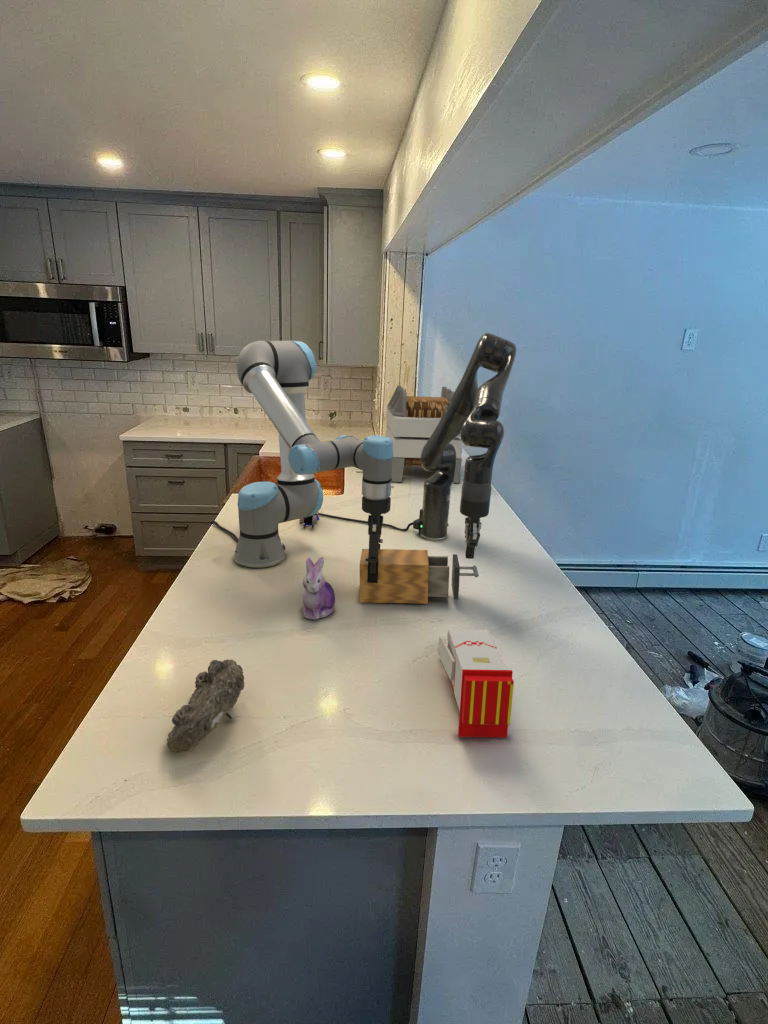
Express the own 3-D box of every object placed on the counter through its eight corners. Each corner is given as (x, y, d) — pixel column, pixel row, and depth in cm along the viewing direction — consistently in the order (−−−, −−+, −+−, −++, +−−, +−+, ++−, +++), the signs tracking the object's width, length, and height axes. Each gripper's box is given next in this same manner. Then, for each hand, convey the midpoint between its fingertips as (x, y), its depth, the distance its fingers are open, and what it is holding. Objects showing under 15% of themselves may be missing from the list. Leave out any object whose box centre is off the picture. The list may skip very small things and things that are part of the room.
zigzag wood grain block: (426, 586, 161) (427, 549, 157) (427, 603, 152) (428, 564, 148) (362, 585, 162) (362, 548, 158) (360, 602, 152) (359, 563, 149)
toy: (488, 613, 130) (523, 677, 101) (484, 667, 133) (517, 744, 104) (435, 612, 130) (455, 676, 101) (432, 666, 133) (451, 743, 103)
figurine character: (317, 534, 199) (321, 515, 212) (317, 515, 196) (321, 497, 209) (298, 534, 199) (303, 515, 212) (298, 515, 195) (302, 496, 209)
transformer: (382, 463, 289) (386, 382, 275) (445, 464, 293) (451, 384, 279) (390, 482, 257) (394, 392, 243) (460, 483, 261) (468, 394, 247)
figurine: (308, 624, 140) (307, 569, 135) (294, 605, 149) (293, 553, 144) (343, 617, 145) (344, 563, 139) (327, 599, 153) (328, 548, 148)
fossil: (192, 660, 117) (244, 628, 112) (224, 691, 120) (276, 661, 115) (142, 746, 98) (202, 712, 93) (182, 779, 101) (242, 748, 96)
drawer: (474, 585, 160) (476, 554, 157) (478, 600, 152) (480, 568, 148) (395, 584, 161) (396, 553, 157) (395, 598, 152) (395, 566, 149)
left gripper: (389, 511, 137) (385, 593, 144) (391, 484, 158) (388, 557, 165) (358, 509, 137) (356, 592, 144) (365, 482, 158) (362, 555, 166)
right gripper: (493, 505, 140) (486, 569, 146) (486, 489, 152) (480, 548, 158) (463, 503, 140) (457, 567, 146) (459, 487, 153) (453, 547, 158)
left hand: (373, 573), depth 155 cm, fingers closed on zigzag wood grain block, 10 cm apart
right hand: (469, 557), depth 152 cm, fingers closed
